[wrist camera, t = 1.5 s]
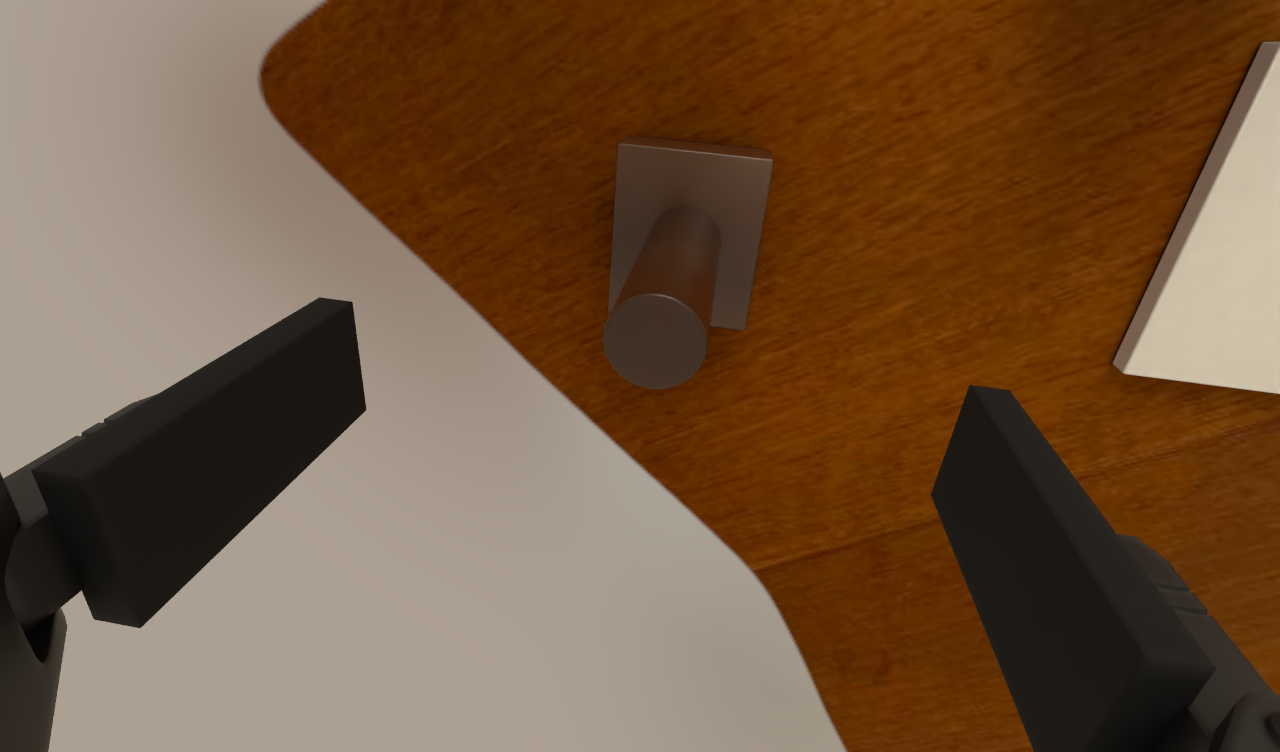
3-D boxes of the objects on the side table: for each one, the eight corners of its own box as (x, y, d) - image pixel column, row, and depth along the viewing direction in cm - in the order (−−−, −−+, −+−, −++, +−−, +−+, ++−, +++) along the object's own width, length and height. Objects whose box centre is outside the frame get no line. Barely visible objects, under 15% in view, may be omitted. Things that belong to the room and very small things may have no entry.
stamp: (633, 129, 26) (549, 200, 15) (771, 144, 25) (789, 228, 14) (622, 283, 29) (545, 436, 18) (745, 299, 28) (744, 466, 17)
